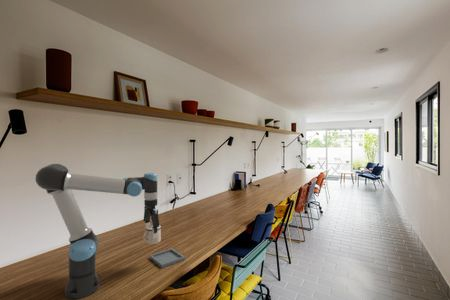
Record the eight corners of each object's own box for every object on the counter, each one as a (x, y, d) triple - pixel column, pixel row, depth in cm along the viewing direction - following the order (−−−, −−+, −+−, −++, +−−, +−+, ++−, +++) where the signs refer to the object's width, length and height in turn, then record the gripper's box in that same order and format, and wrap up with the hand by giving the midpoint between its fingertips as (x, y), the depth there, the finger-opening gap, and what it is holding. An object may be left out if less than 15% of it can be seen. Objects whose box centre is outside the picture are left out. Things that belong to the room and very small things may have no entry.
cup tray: (161, 268, 147) (161, 264, 147) (149, 258, 159) (149, 255, 159) (185, 259, 158) (185, 256, 158) (172, 251, 170) (172, 248, 170)
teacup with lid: (154, 237, 158) (154, 219, 157) (164, 240, 153) (164, 222, 152) (138, 244, 148) (138, 224, 147) (148, 247, 143) (148, 227, 142)
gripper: (165, 201, 144) (165, 239, 145) (149, 194, 160) (149, 229, 161) (153, 203, 139) (153, 242, 140) (137, 196, 155) (137, 232, 156)
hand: (151, 235), depth 150 cm, fingers closed on teacup with lid, 9 cm apart
